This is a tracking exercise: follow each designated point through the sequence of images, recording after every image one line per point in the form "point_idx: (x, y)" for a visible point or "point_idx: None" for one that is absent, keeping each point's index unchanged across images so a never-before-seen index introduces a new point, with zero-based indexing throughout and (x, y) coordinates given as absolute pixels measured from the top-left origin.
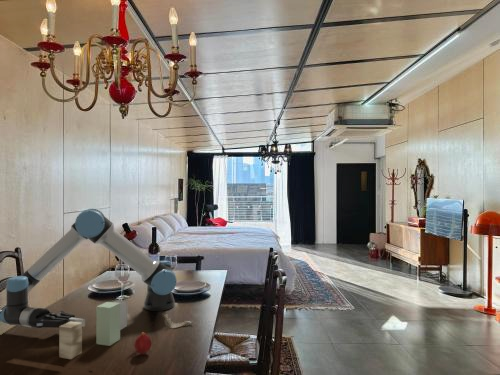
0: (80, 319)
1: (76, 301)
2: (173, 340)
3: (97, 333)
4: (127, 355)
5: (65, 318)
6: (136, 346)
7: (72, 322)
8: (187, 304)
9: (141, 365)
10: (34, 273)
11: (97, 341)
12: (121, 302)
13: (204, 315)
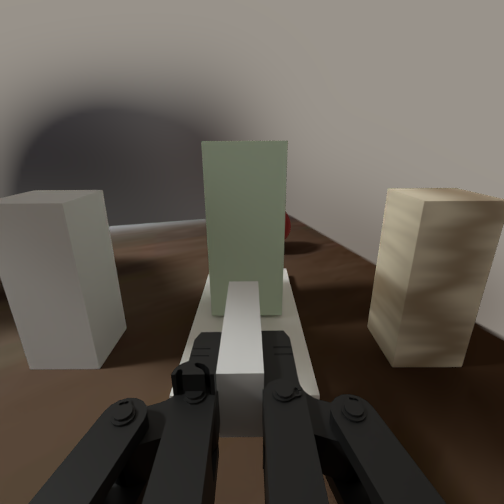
0: (248, 293)
1: None
2: (185, 240)
3: (282, 270)
4: (288, 262)
5: (205, 489)
6: (290, 226)
7: (423, 196)
8: None
9: (313, 240)
10: None
11: (281, 302)
12: (60, 192)
13: None
